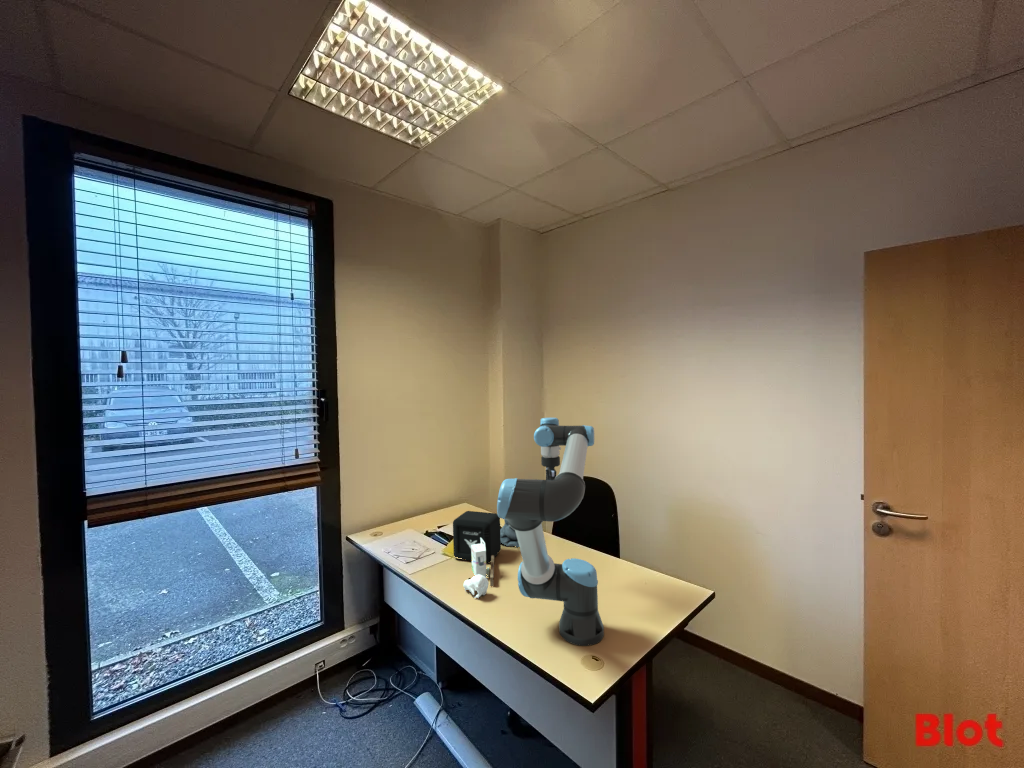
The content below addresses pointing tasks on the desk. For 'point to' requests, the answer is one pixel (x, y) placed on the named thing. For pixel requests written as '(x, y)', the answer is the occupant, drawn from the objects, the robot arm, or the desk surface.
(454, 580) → the desk surface
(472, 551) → the ink box
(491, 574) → the rail
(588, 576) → the robot arm
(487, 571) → the pad
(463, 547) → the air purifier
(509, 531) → the koala plush
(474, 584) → the white lumpy piece
